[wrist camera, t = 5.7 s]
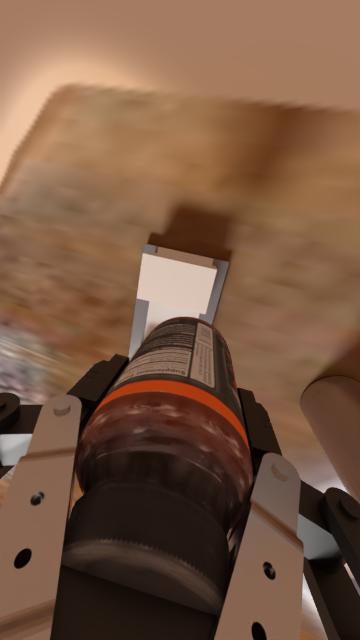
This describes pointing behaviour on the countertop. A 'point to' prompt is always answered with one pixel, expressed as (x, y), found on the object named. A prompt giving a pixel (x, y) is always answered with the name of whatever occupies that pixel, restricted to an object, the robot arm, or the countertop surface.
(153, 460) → the supplement bottle
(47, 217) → the countertop surface
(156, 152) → the countertop surface
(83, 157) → the countertop surface
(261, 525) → the robot arm
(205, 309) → the rail board
